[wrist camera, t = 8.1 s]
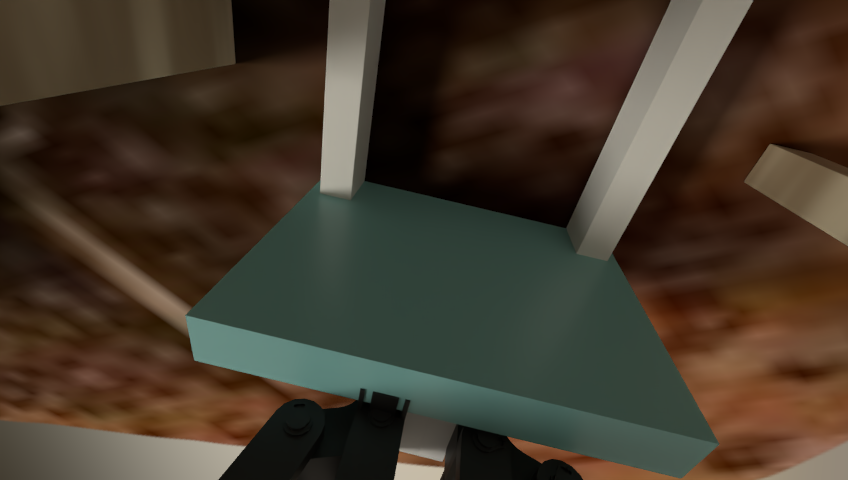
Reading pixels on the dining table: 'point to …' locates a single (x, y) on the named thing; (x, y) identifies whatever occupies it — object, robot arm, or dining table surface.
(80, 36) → the beige tall open frame
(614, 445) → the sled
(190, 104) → the dining table surface
